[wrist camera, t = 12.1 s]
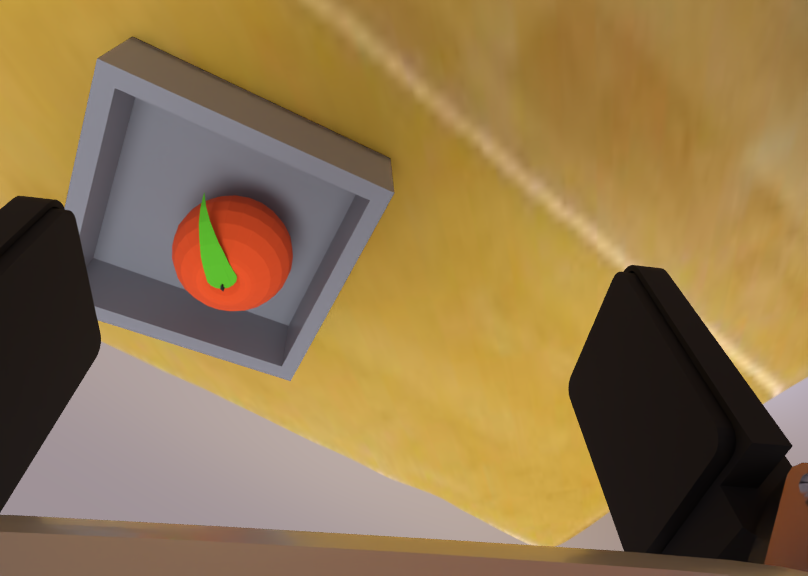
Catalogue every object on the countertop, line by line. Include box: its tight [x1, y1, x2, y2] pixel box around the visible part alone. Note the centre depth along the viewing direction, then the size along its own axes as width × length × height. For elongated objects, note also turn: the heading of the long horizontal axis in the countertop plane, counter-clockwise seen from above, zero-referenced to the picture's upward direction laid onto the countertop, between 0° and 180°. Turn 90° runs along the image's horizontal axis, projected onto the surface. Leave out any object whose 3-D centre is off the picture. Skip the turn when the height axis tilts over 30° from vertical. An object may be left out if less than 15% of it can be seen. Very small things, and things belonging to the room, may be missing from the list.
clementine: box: [172, 193, 293, 311], centre depth 34 cm, size 8×7×7 cm
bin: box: [65, 37, 394, 381], centre depth 35 cm, size 16×16×5 cm
